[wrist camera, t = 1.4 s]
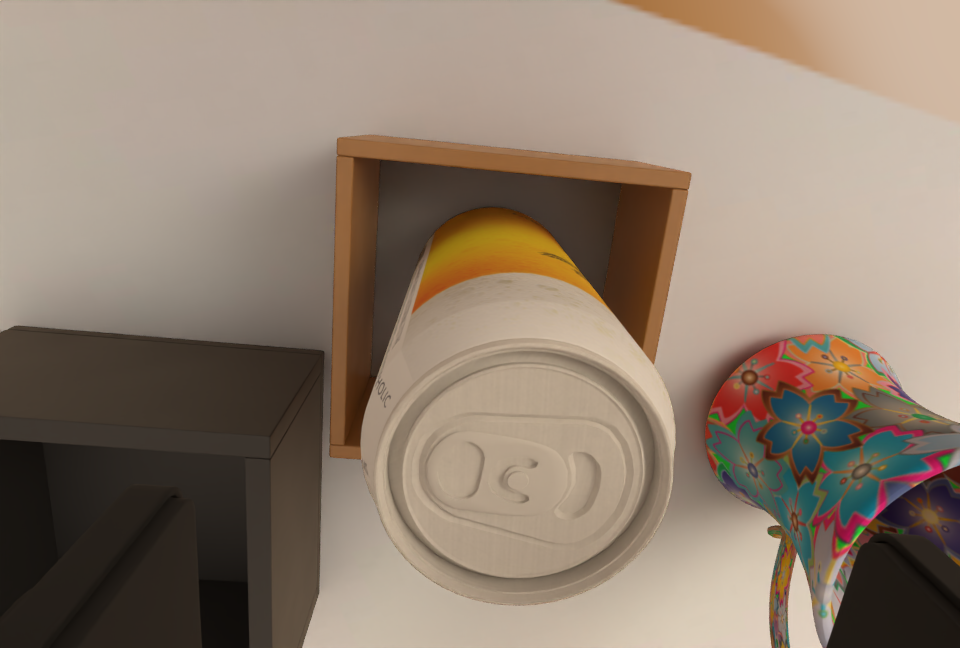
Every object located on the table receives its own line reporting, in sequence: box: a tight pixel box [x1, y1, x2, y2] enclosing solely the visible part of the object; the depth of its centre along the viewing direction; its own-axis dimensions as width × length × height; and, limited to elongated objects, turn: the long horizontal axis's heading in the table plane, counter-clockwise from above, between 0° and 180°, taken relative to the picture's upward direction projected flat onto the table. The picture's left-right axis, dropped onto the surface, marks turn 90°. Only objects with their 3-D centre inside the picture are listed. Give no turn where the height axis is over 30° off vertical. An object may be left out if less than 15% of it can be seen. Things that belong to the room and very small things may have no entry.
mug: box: [705, 334, 960, 648], centre depth 23 cm, size 12×9×11 cm
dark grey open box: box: [0, 326, 324, 648], centre depth 24 cm, size 13×13×8 cm
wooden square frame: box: [329, 135, 691, 460], centre depth 22 cm, size 10×10×6 cm
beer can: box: [360, 207, 676, 605], centre depth 18 cm, size 6×6×15 cm
